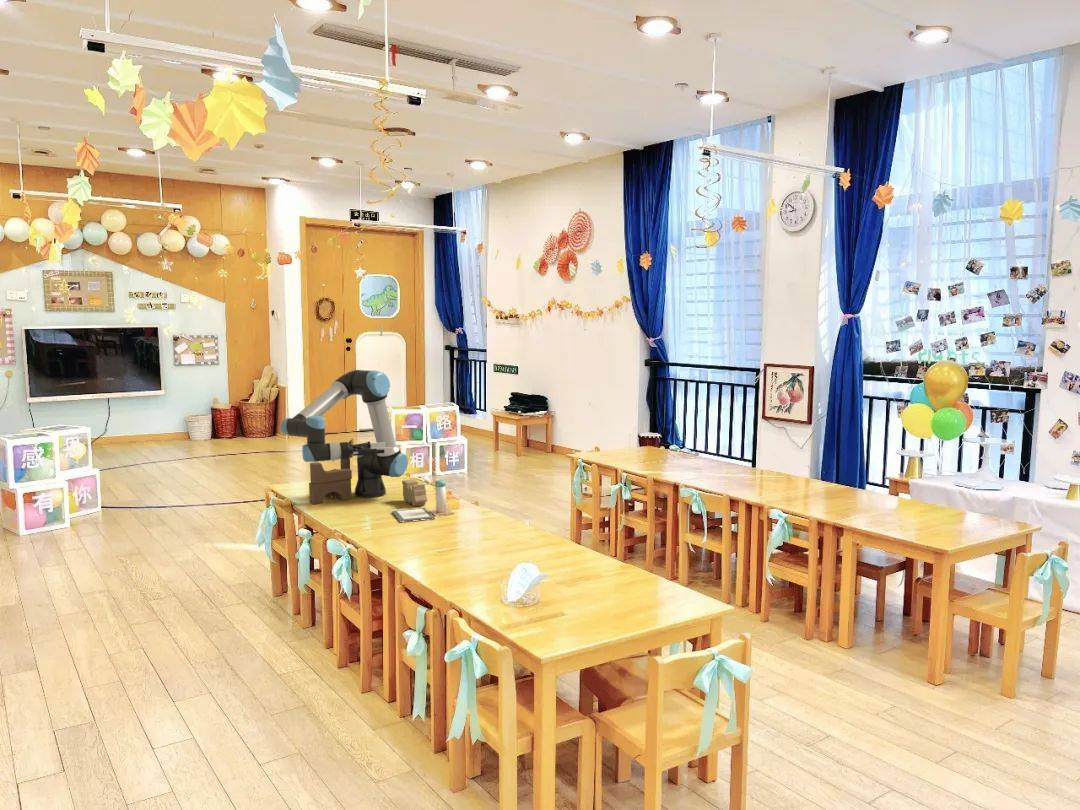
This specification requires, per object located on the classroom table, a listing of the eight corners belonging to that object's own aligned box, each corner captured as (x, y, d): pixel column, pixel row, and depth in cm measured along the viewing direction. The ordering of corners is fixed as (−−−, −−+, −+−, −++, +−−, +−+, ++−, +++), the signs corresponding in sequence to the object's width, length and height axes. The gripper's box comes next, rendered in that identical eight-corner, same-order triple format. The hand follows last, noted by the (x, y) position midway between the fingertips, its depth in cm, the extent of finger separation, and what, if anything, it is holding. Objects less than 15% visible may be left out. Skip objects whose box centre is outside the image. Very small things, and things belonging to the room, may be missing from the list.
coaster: (429, 511, 360) (429, 510, 360) (448, 509, 364) (448, 508, 364) (434, 516, 352) (434, 515, 352) (453, 514, 356) (453, 513, 355)
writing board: (392, 512, 358) (392, 510, 358) (424, 509, 364) (424, 507, 364) (400, 522, 342) (400, 520, 342) (434, 519, 348) (434, 517, 347)
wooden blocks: (347, 490, 402) (345, 435, 398) (362, 498, 386) (360, 441, 382) (299, 496, 388) (297, 440, 385) (312, 505, 372) (310, 446, 368)
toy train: (416, 508, 367) (415, 486, 366) (402, 500, 381) (401, 480, 380) (427, 506, 370) (426, 485, 368) (413, 498, 384) (412, 478, 383)
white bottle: (434, 511, 359) (433, 480, 357) (444, 509, 361) (443, 479, 359) (437, 513, 355) (436, 482, 353) (447, 512, 357) (446, 481, 355)
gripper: (335, 454, 357) (382, 451, 365) (344, 464, 334) (394, 461, 342) (335, 438, 356) (382, 435, 364) (343, 447, 333) (394, 444, 341)
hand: (388, 447), depth 353 cm, fingers open, 13 cm apart
